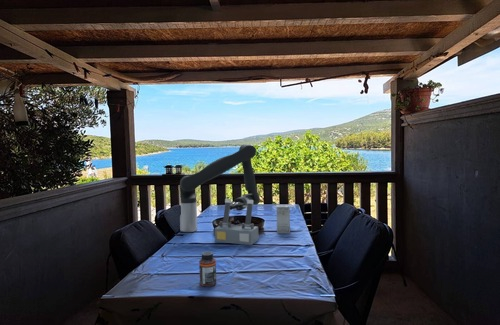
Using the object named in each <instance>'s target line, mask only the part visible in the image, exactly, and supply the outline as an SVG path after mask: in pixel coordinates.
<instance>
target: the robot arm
mask: <svg viewBox="0 0 500 325" xmlns="http://www.w3.org/2000/svg"><path fill="white" fill-rule="evenodd" d="M256 154H257V149H256V147H255V146H254V145H252V144H247V143H244V144H241V145H240V146H239V149H238V151H235V152H234V153H232V154H229V155H225V156H222V157H219V158H218V159H216V160H215V159H214V161H212V162H211V163H209V164H208V165H206V166H205V167H204V168H202V169H201V170H199V171H198V172H196V173H193V174H191V175H184V176H183V177H181V178H180V181H179V198H180V213H181V214H180V215H179V228H180V230H179V231H180V232H183V233H192V232H196V231H197V230H198V217H197V216H198V214H197V212H198V211H197V196H196V189H197V188H198V187H200V186H201V185H203V184H204V183H206V182H208V181H210V180H213V179H214V178H217V177H218V176H220V175H223V174H224V173H226V172H227V171H230V170H231V169H233V168H235V167H236V166H237V165H239V164H241V165H242V170H243V171H242V172H243V181H244V189H245V191H246V192H247V191H248V192H250V193H245V194H243V196H240V197H237V198H235V199H234V200H233V201H232V202H231V204H230V211H232V210H236V211H239V212H240V211H242V210H244V209H247V200H253V205H254V206H255V205H259V204H260V200H261V199H260V195H259V192H258V190H257V186H256V177H255V172H254V169H253V166H252V159H253V158H254V157H255V156H256Z"/></svg>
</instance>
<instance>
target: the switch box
mask: <svg viewBox="0 0 500 325" xmlns="http://www.w3.org/2000/svg"><path fill="white" fill-rule="evenodd" d="M222 222H223V220H220V221H219V225H218V226H216V227H214V242H216V243H217V242H219V243H228V244H230V243H231V244H235V245H237V244H238V245H246V246H253V244H255V243H256V242H257V241H259V226H254V224H255V223H251V227H244V224H245V222H242V223H241V225H239V224H232V221H228V226H226V225H222Z"/></svg>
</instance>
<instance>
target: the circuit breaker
mask: <svg viewBox="0 0 500 325" xmlns="http://www.w3.org/2000/svg"><path fill="white" fill-rule="evenodd" d="M290 208H291V206H290V204H276V233H277V234H290V233H291V218H290V217H291V212H290Z"/></svg>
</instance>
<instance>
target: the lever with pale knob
mask: <svg viewBox="0 0 500 325" xmlns="http://www.w3.org/2000/svg"><path fill="white" fill-rule="evenodd" d="M224 203H225V205H224V211H223V213H224V214H223V220H222V221H223V222H222V225H226V226H228V223H229V219H230V211H231V210H230V204H231V203H232V199H231V198H225V199H224Z"/></svg>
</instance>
